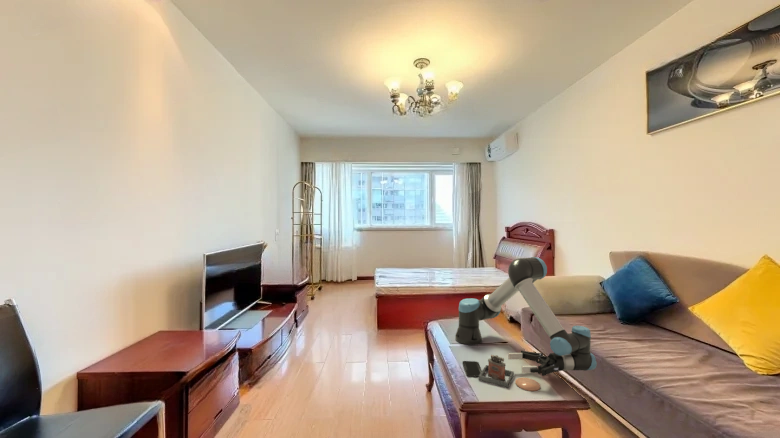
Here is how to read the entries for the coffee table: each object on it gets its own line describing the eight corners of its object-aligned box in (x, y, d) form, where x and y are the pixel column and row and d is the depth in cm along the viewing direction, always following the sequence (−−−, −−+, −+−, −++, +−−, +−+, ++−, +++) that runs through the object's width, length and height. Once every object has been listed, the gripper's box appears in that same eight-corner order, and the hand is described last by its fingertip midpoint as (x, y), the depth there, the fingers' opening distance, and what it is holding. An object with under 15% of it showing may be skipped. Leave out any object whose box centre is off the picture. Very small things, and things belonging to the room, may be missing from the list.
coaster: (517, 377, 152) (517, 375, 152) (541, 383, 146) (541, 381, 146) (513, 386, 143) (513, 385, 143) (538, 393, 138) (538, 391, 138)
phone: (478, 361, 166) (484, 376, 151) (478, 363, 166) (484, 378, 151) (462, 360, 166) (466, 375, 151) (461, 363, 166) (466, 377, 151)
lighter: (486, 376, 152) (486, 354, 152) (490, 373, 155) (490, 352, 154) (503, 382, 146) (503, 360, 146) (506, 380, 149) (507, 357, 149)
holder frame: (486, 369, 159) (486, 364, 159) (513, 376, 153) (513, 371, 153) (478, 380, 148) (478, 375, 148) (508, 388, 142) (508, 383, 142)
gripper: (577, 383, 140) (528, 385, 138) (545, 358, 165) (503, 359, 163) (577, 366, 140) (528, 367, 138) (545, 343, 165) (503, 343, 163)
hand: (515, 362), depth 151 cm, fingers open, 13 cm apart
